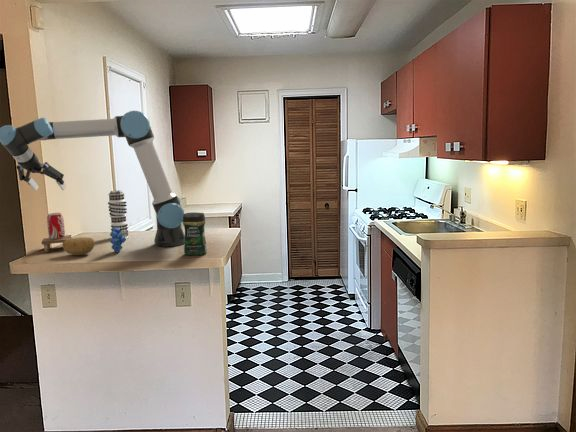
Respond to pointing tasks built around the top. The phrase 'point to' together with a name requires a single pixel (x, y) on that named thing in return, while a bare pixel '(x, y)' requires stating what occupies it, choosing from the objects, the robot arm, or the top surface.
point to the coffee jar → (194, 233)
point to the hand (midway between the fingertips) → (50, 188)
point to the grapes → (117, 239)
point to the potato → (78, 245)
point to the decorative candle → (118, 212)
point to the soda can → (55, 226)
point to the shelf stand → (51, 241)
